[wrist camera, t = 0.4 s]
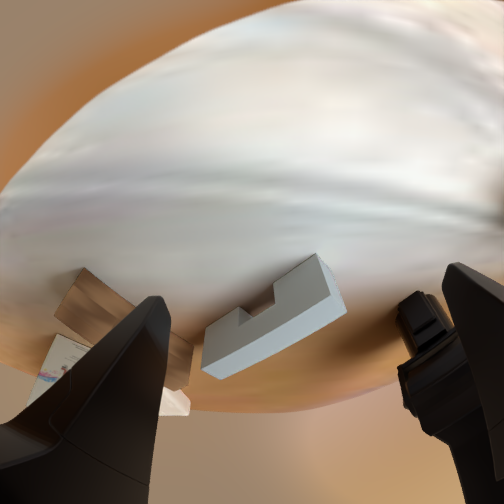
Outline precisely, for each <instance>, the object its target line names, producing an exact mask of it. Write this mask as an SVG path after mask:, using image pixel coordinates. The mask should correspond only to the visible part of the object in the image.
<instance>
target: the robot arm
mask: <svg viewBox="0 0 504 504" xmlns="http://www.w3.org/2000/svg"><path fill="white" fill-rule="evenodd" d="M442 291H443V294H444V297H445V300H446V302H447V305H448V308H449V311H450V314H451V317H452V320H453V323H454V325H453V324H452V322H451V321H450V319H449V317H448V316H447V314H446V312H445V311H444V309H443V308H442V306H441V305H440V303H439V302H438V300H437V298H436V297H435V296H433V295H430V294H426V295H425V294H424V293H423V292H420V291H416V292H415V293H413V294H412V295H411V296H409V297H408V298H406V299H405V300H403V301H402V302H400V303H399V305H398V306H399V308H398V311H399V313H398V315H397V318H396V326H397V328H398V330H399V333H400V335H401V337H402V339H403V341H404V343H405V346H406V348H407V350H408V352H409V355H410V357H411V359H410V360H408V361H407V362H405V363H404V364H401V365H399V366H398V367H397V369H398V378H399V382H400V386H401V391H402V396H403V406H404V408H405V409H409V410H410V412H411V413H412V415H413V416H414V417H416V418H417V417H418V419H419V421H420V424H421V427H422V430H423V431H424V432H425V433H426V434H428V435H429V436H434V437H436V438H437V439H439V440H441V441H442V442H444V443H446V444H447V445H449V448H450V450H451V453H452V457H453V460H454V463H455V466H456V469H457V473H458V476H459V480H460V483H461V487H462V491H463V495H464V499H465V503H466V504H504V286H503V285H501V284H499V283H498V282H496V281H494V280H492V279H490V278H488V277H487V276H485V275H483V274H481V273H479V272H477V271H475V270H473V269H472V268H470V267H468V266H466V265H464V264H462V263H460V262H456V263H450V264H449V265H448V266H447V269H446V272H445V276H444V279H443V282H442ZM170 329H171V317H170V314H169V311H168V309H167V306H166V304H165V302H164V299H163V298H162V297H161V296H149V297H147V298H146V299H145V300H144V301H142V302H141V303H140V304H139V305H138V306H137V307H136V308H135V309H134V310H132V311H131V312H130V313H129V314H128V315H127V316H126V317H125V318H124V319H122V320H121V321H120V322H119V323H118V324H117V325H116V326H115V327H114V328H113V329H112V330H110V331H109V332H108V333H107V334H106V335H105V336H104V337H103V338H102V339H101V340H100V341H99V342H97V343H96V344H95V345H94V346H93V347H92V348H91V349H90V350H89V351H88V352H87V353H86V354H85V355H84V356H83V357H82V358H80V359H79V360H78V361H77V362H76V363H75V364H74V365H73V366H72V367H71V369H69V370H68V371H67V372H66V373H65V374H64V375H63V376H62V377H61V378H60V379H59V380H57V381H56V382H55V383H54V384H53V385H52V386H51V387H50V388H49V389H48V390H46V391H45V392H44V393H43V394H42V395H41V396H40V397H38V398H37V399H36V400H35V401H34V402H32V403H31V404H30V405H29V406H28V407H26V408H25V409H24V410H23V411H22V412H21V413H19V415H17V416H16V417H15V418H13V419H12V420H10V421H9V422H7V423H4V424H0V504H148V495H149V483H150V475H151V466H152V458H153V450H154V443H155V436H156V429H157V423H158V416H159V410H160V404H161V398H162V393H163V387H164V382H165V376H166V370H167V363H168V352H169V340H170Z"/></svg>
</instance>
